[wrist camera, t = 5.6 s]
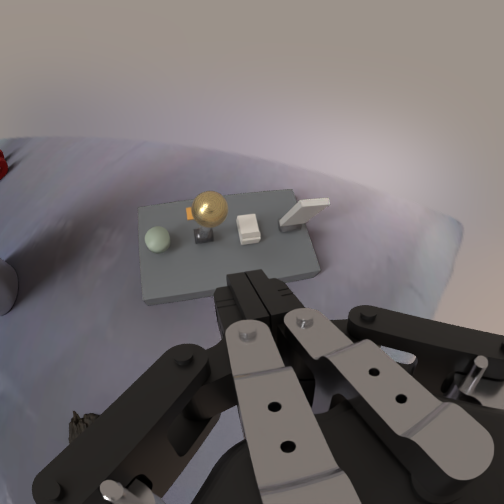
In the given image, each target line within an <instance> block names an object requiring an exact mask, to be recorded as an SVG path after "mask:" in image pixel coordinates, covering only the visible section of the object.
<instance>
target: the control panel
mask: <svg viewBox="0 0 504 504" xmlns="http://www.w3.org/2000/svg"><path fill="white" fill-rule="evenodd" d="M223 197H224V198H225V200H226V201H227V204H228V214H227V217H226V219H225V220H224V222H223V223H222V224H220V225H219V226H217V227H213V228H212V230H213V236H214V242H208V243H201V244H195V238H194V230H193V229H198V228H200V225H199V224H198V223H197V222H196V221H195V220H194V218H193V216H192V212H191V207H192V203H193V201H194V199H192V200H184V201H177V202H170V203H164V204H157V205H151V206H144V207H138V238H139V258H140V273H141V285H142V296H143V301H144V302H145V303H146V304H147V305H148V306H150V305H158V304H164V303H171V302H178V301H185V300H191V299H197V298H204V297H210V296H213V294H214V292H215V290H216V288H218V287H224V286H227V280H226V275H227V274H233V273H239V272H245V271H251V270H257V269H262V270H263V272H264V273H265V274H266V276H267V277H268V278H269V279H270V278H277V279H279V280H281V281H283V282H284V283H288V282H294V281H299V280H304V279H309V278H314V277H315V275H316V274H317V273H318V272H319V271H320V270H321V269H320V266H319V263H318V260H317V257H316V254H315V251H314V248H313V245H312V242H311V240H310V237H309V234H308V231H307V228H306V225H305V223H304V224H302V228H301V230H295V231H288V232H280V231H279V228H278V219H279V218H282V217H283V216H284V215H285V214H286V213H287V212H288V211H289V210H290V209H292V208H293V207H294V206H295V205H296V204H297V200H296V198H295V195H294V192H293V190H292V189H287V190H275V191H263V192H253V193H243V194H233V195H224V196H223ZM248 214H255V216H256V220H257V224H258V229H259V231H260V235H261V236H260V237H261V239H260V241H259V242H258V243H252V244H245V245H241V242H240V237H239V232H238V227H237V222H236V220H237V216H240V215H248ZM156 226H160V227H163V228H165V229H166V230H167V231H168V233H169V236H170V241H171V242H170V246H169V248H168V249H167V250H166V251H165V252H163V253H159V254H156V253H153V252H151V251H150V250H149V249H148V247H147V245H146V242H145V235H146V233H147V231H148V230H149V229H151V228H153V227H156Z"/></svg>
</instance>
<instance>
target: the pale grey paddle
mask: <svg viewBox="0 0 504 504" xmlns="http://www.w3.org/2000/svg"><path fill="white" fill-rule="evenodd" d="M329 205H330V201H329V198H319V199H306V200H300V201H299V202H298V203H297V204H296V205H295V206H294V207H293V208H292V209H290V210H289V211H288V212H287V213H286V214H285V215H284V216H283V217H282V218H279V219H278V228H279V231H280V232H288V231H295V230H301V228H302V224H304V223H306V222H307V221H309V220H310V219H311V218H313V217H314V216H315V215H317V214H318V213H319V212H321V211H322V210H323V209H325V208H326V207H327V206H329Z"/></svg>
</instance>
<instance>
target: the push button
mask: <svg viewBox="0 0 504 504" xmlns="http://www.w3.org/2000/svg"><path fill="white" fill-rule="evenodd" d="M145 242H146V245H147V247H148V249H149V250H150V251H151V252H153V253H156V254H159V253H163V252H165V251H166V250H167V249H168V248H169V246H170V242H171V241H170V236H169V233H168V231H167V230H166V229H165V228H163V227H160V226H156V227H153V228H151V229H149V230H148V231H147V233H146V235H145Z"/></svg>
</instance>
